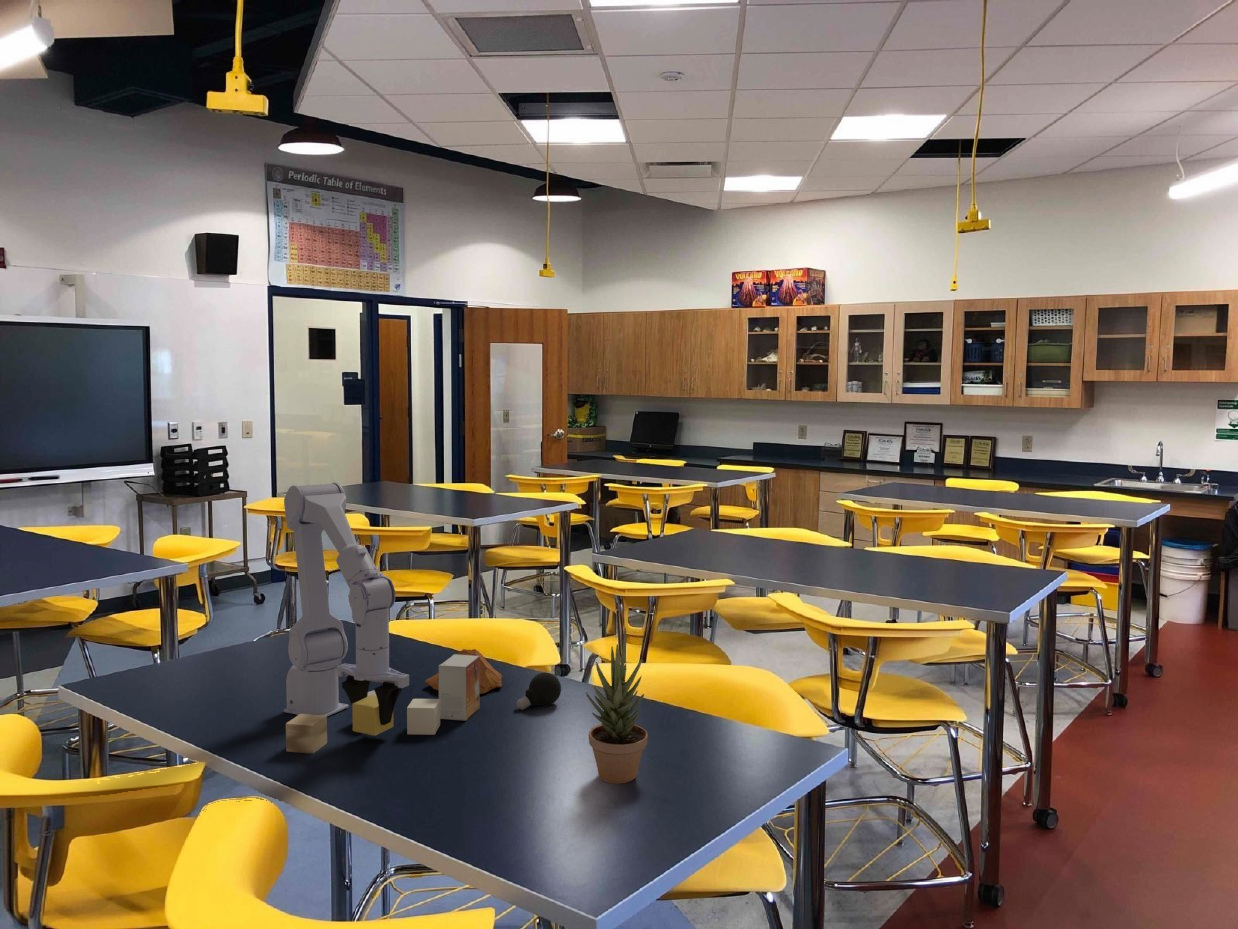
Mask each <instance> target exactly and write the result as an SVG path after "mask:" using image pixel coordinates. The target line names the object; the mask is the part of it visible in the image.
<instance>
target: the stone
mask: <svg viewBox="0 0 1238 929" xmlns="http://www.w3.org/2000/svg"><path fill="white" fill-rule="evenodd" d="M456 654H457V655H472V656H480V695H481V694H485V693H488V692H489V691H491V690H493V689H496V688H502V686H503V684H504V683H503V681H502V678H503V674H501V673H500V672H499V671H497V670H495V668H494V667H493V666H492V665H491V664H490V663H489V662H488V661H487V660H486V658H485V657H484V656H483V654H482V653H481V652H480V651H479V650H478V649H474V648H473V649H466V648H463V649H461V650H460V651H459V652H458V653H456ZM425 683H427V684H428V685H429V686H430V687H431V688H432V689H433V690H436V691H438V692H439V671H438V672H436V673H435V674H434V675H433V676H430V677H429V678H427V679H425Z"/></svg>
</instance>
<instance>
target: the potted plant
mask: <svg viewBox="0 0 1238 929" xmlns="http://www.w3.org/2000/svg"><path fill="white" fill-rule="evenodd" d="M623 631H624V632H623V634H624V635H623V641H622V642H623V643H622V651H621V656H620V650H619V649H620V648H619V644H618V643H616V647H615V653H614V648H613V646H611V651H610V676H611V677H610V679H611V680H610V682H611V684H610V683H609V681H608V680H607V678H606V677H605V675H604V673H603V671H602V670H601V668H600V665H599V663H598V662H597V661H595V666H596V671H597V675H598V677H599V680H600V683H601V685H602V688H603V692H604V695H603V694H602V692H600V691H599V689H598V688H597V687H595V686H593V689H594V691H595V695H594V696H593V697H594V699H595V701H596V702H597V703H596V702H595V701H594V700H593V699H592V697H591V696H590V695H589V694H588V692H585V694H586V697H587V698H588V701H589V702H590V703H591V705H592V706H593V707H594V709H595V710H596V711H597V712H598V713H599V715H597V714H596V713H594V712H592V713H591V715H593V717H594V718H595V719H596V720H598V721H599V722H600V723H601V724H597V725H596V726H592V727H591V729H590V730H589V732H588V744H589V745H590V747H591V749H592V753H593V755H594V756H593V757H594V759H595V764H596V768H597V773H598V777H599V779H600V780H602V781H603V782H604V783H605V782H606V783H609V784H626V783H631V782H632V781H633V780H634V779H636V778H637V774H638V769H639V765H640V761H641V758H642V756H643V752H644V751H643V750H644V749H645V748H646V747H647V745H648V737H649V736H648V731H647V730H646V729H644V728H643V727H641V726H639V725H636V724H635V722H636V721H637V720H638V719H639V716H640V714H639V713H640V712H641V710H642V709H641V708H639V709H637V710H636V711H635V709H636V708H637V707H638V705H640V703H641V701H642V700H643V698H644V697H645V693H642V694H641V695H640V696H639V697H638V699H637V700H636V701H635V702H634V700H635V698H636V696H637V694H638V691H639V690H637V689H638V687H639V684H640V682H641V680H642V675H640V677H638V679H637V680H636V682H635V683H634V680H635V678H636V676H637V674H638V672H639V670H640V668H641V665H642V663H643V658H641V659H640V660H639V661H638V664H637V665H636V667H635V668H634V670H633V672H632V673H631V675H630V676H629V678H627V680H626V674H627V663H626V653H627V627H624V630H623ZM633 683H634V684H633ZM632 684H633V686H632ZM631 686H632V687H631ZM596 695H597V696H596ZM633 703H634V704H633ZM633 711H635V712H634V713H633ZM632 713H633V714H632ZM631 714H632V715H631Z"/></svg>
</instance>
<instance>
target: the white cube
mask: <svg viewBox="0 0 1238 929" xmlns="http://www.w3.org/2000/svg"><path fill="white" fill-rule="evenodd" d="M406 725H407V726H406V728H407V729H406V731H407V734H406V735H427V736H428V735H430V736H431V735H433V736H434V735H436V733H437V731H438V730H439V727H440V726H441V719H440V699H439V698H413V699H412V700H411V701H410V703H409V704H408V706H407V707H406Z"/></svg>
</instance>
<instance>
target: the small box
mask: <svg viewBox="0 0 1238 929" xmlns="http://www.w3.org/2000/svg"><path fill="white" fill-rule="evenodd" d="M438 672H439V691H438V699H440V720H452V721H468V719H469V718H470V717H471V716H472V715H474V713H475V712H477V711H478V710H479V709H480V707H481V705H480V703H481V700H480V698H481V696H480V695H481V694H480V656H472V655H457V653H455V654H451V657H449V658H447V659H446V660H445V661H443V662H442V663H441V664H439V665H438Z"/></svg>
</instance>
